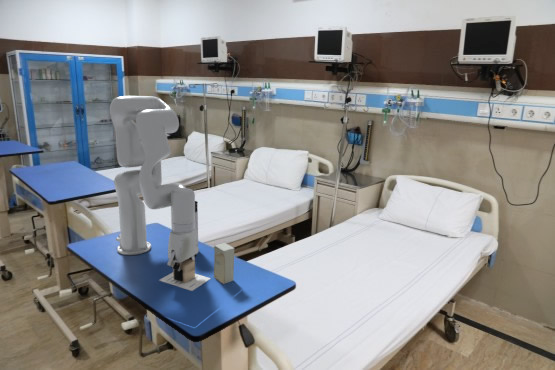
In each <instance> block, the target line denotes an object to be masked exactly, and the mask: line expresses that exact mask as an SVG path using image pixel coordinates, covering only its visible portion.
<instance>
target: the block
mask: <svg viewBox="0 0 555 370" xmlns="http://www.w3.org/2000/svg"><path fill="white" fill-rule="evenodd" d="M178 265H179V263H177V266H178ZM181 270H183V281H182V282H184V283H186V282H188V281H189V280H191V279H192V278H194V277H195V274H196V260H195V261H194V260H191V259H186V260H185V261H183V263H182V269H181ZM172 272H173V276H174V269H173V268H172Z"/></svg>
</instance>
